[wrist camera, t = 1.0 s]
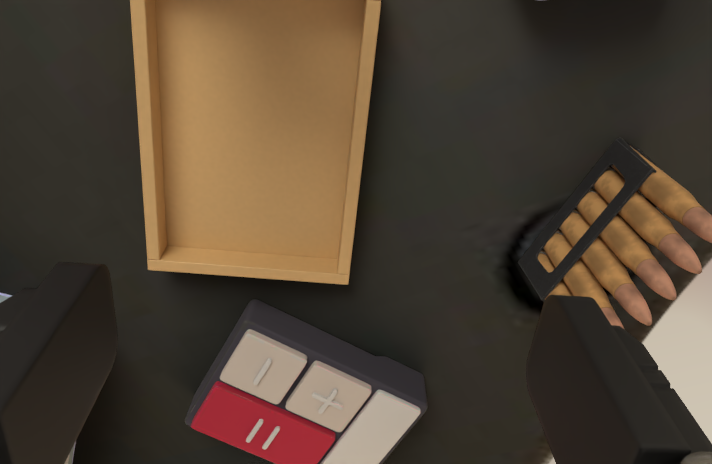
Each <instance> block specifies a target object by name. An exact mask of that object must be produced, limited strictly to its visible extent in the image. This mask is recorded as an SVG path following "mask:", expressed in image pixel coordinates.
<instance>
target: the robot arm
mask: <svg viewBox="0 0 712 464" xmlns="http://www.w3.org/2000/svg"><path fill="white" fill-rule="evenodd" d="M117 345H118V333H117V325H116V317H115V309H114V301H113V294H112V286H111V278H110V273H109V270H108V268H107V266H106V265H103V264H88V263H73V262H59V263H58V264H56V265H55V267H54V268H53V269H52V270H51V272H50V273H49V274H48V275H47V277H46V278H45V279H44V280H43V282H42V283H41V284H40V285H39V287H38V288H37V289H35V288H24V289H22V290H21V291H19V292H17V293H16V294H14V295H12V296H11V297H9V298H8V299H6V300H4V301H3V302H1V303H0V464H64V463H65V461H66V459H67V457H68V455H69V453H70V451H71V449H72V447H73V445H74V443H75V441H76V439H77V437H78V435H79V433H80V431H81V429H82V427H83V425H84V423H85V421H86V419H87V417H88V415H89V413H90V411H91V409H92V407H93V405H94V403H95V401H96V399H97V397H98V395H99V393H100V391H101V389H102V387H103V385H104V383H105V381H106V379H107V377H108V375H109V373H110V371H111V369H112V367H113V364H114V361H115V357H116V352H117ZM526 382H527V388H528V391H529V394H530V397H531V400H532V402H533V405H534V407H535V410H536V413H537V415H538V418H539V420H540V423H541V426H542V428H543V431H544V433H545V436H546V439H547V441H548V444H549V446H550V449H551V451H552V454H553V457H554V459H555V462H556V464H712V444H711V442H710V441H709V440H708V438H707V436H706V435H705V434H704V432H703V431H702V429H701V428H700V426H699V425H698V423H697V422H696V421H695V419H694V418H693V416H692V415H691V413H690V412H689V411H688V409H687V407H686V406H685V404H684V403H683V402H682V400H681V399H680V397H679V396H678V394H677V393H676V392H675V390H674V389H671V388H670V383H669V381H668V380H667V379H666V377H665V376H664V374H663V373H662V371H661V370H658V365H657V364H656V362H655V361H654V360H653V358H652V357H651V355H650V354H649V352H648V351H647V349H646V348H645V347H644V345H643V344H642V343H641V342H639V341H638V340H637V339H636V338H634V337H633V336H632V335H631V334H629V333H628V332H627V331H626V330H624V329H623V328H622V327H621V326H616V325H611V324H610V322H609V321H608V319H607V318H606V316H605V314H604V313H603V311H602V310H601V308H600V307H599V305H598V304H597V302H596V301H595V300H594V299H593V298H591V297H582V296H566V295H549V296H548V297H547V298H546V300H545V302H544V305H543V308H542V311H541V315H540V318H539V321H538V325H537V328H536V331H535V335H534V338H533V341H532V345H531V348H530V351H529V355H528V359H527V364H526Z"/></svg>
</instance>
